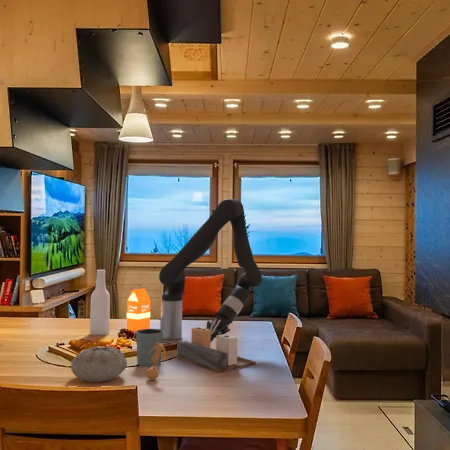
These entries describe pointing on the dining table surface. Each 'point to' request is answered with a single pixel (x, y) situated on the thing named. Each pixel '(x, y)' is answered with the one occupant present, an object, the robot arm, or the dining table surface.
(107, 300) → the alcohol
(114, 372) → the grey rounded rock
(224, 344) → the one dot button
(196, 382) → the dining table surface
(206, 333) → the two dot button
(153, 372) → the figurine
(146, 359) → the blue-grey cup
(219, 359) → the console
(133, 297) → the orange juice
